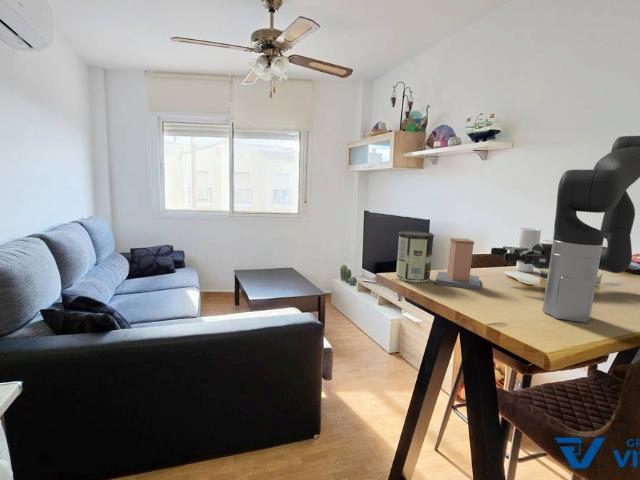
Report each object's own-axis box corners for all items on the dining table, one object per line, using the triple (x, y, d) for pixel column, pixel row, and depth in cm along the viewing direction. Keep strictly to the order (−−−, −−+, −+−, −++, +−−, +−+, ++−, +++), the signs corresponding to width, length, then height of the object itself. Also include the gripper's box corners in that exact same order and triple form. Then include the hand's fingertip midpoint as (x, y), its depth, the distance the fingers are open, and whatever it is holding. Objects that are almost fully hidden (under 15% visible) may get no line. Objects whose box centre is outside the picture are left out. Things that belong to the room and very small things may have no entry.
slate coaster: (479, 289, 102) (480, 285, 102) (435, 283, 106) (435, 279, 106) (478, 280, 113) (478, 276, 113) (438, 274, 117) (438, 271, 117)
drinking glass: (529, 269, 132) (535, 228, 130) (538, 273, 126) (545, 230, 123) (510, 267, 133) (515, 227, 131) (518, 272, 126) (524, 229, 124)
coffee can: (415, 273, 118) (419, 230, 116) (436, 281, 109) (441, 235, 106) (388, 274, 114) (392, 230, 112) (408, 283, 105) (412, 235, 103)
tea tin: (469, 280, 107) (474, 241, 105) (451, 279, 107) (456, 240, 105) (463, 276, 112) (467, 238, 110) (446, 275, 112) (450, 238, 110)
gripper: (540, 240, 114) (488, 237, 114) (570, 248, 100) (511, 245, 100) (537, 263, 115) (486, 261, 115) (566, 274, 101) (507, 271, 101)
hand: (497, 253), depth 108 cm, fingers open, 8 cm apart
